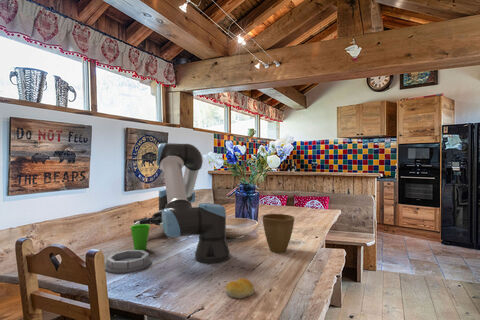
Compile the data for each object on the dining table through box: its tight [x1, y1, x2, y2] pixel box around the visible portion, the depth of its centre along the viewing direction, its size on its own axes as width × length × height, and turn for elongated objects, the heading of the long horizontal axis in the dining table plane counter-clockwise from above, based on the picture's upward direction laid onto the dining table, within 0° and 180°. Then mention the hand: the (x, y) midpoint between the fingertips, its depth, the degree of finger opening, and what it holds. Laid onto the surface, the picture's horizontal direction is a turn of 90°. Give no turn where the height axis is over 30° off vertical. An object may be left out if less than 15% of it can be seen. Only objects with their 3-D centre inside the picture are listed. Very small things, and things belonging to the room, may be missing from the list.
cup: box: [130, 224, 151, 251], centre depth 136 cm, size 9×9×11 cm
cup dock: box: [105, 249, 152, 274], centre depth 117 cm, size 18×18×4 cm
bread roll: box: [225, 277, 255, 299], centre depth 92 cm, size 8×9×4 cm
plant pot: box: [262, 213, 296, 254], centre depth 134 cm, size 15×15×16 cm
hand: (147, 226), depth 146 cm, fingers open, 13 cm apart
